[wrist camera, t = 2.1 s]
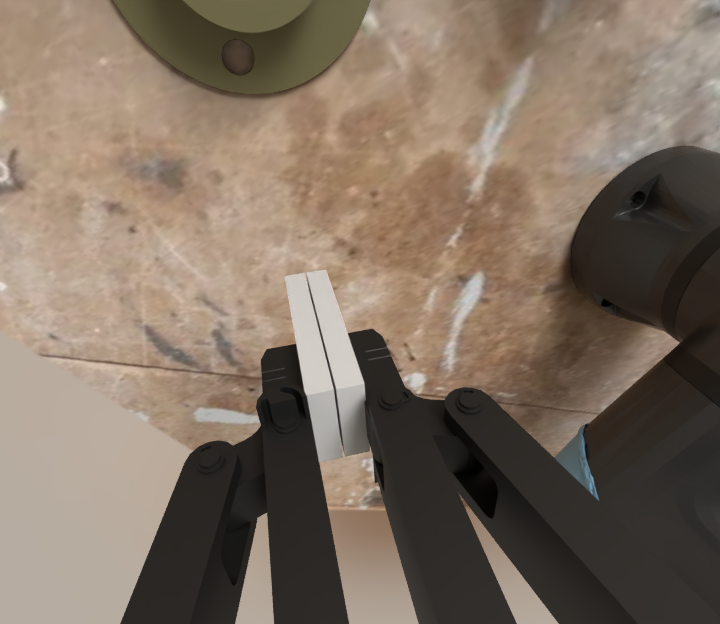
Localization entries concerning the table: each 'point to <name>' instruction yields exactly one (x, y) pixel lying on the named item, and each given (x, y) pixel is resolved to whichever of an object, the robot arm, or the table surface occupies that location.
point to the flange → (247, 37)
